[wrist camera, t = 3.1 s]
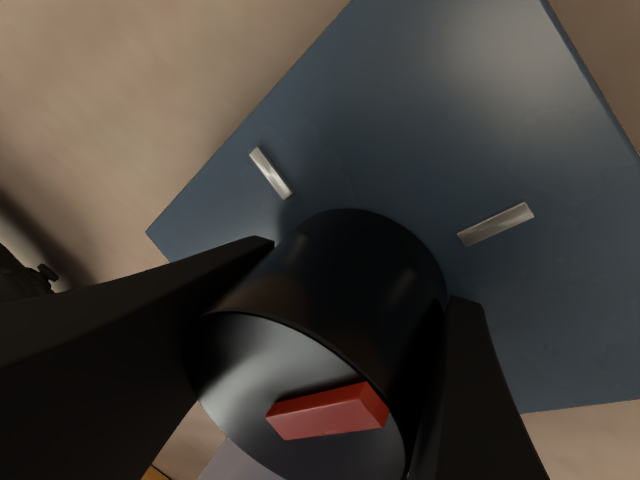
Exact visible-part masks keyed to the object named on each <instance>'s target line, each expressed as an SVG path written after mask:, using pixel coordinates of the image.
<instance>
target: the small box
mask: <svg viewBox="0 0 640 480" xmlns="http://www.w3.org/2000/svg"><path fill="white" fill-rule="evenodd" d="M141 480H169V479H168V478H167V477H165V476H164V475H163V474H161V473H160V472H159V471H157V470H156V469H155V468H153V467H152V466H151V465H150V467H149V468H148V470H147V471H146V473H145V474H144V476H143V477H142V479H141Z"/></svg>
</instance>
